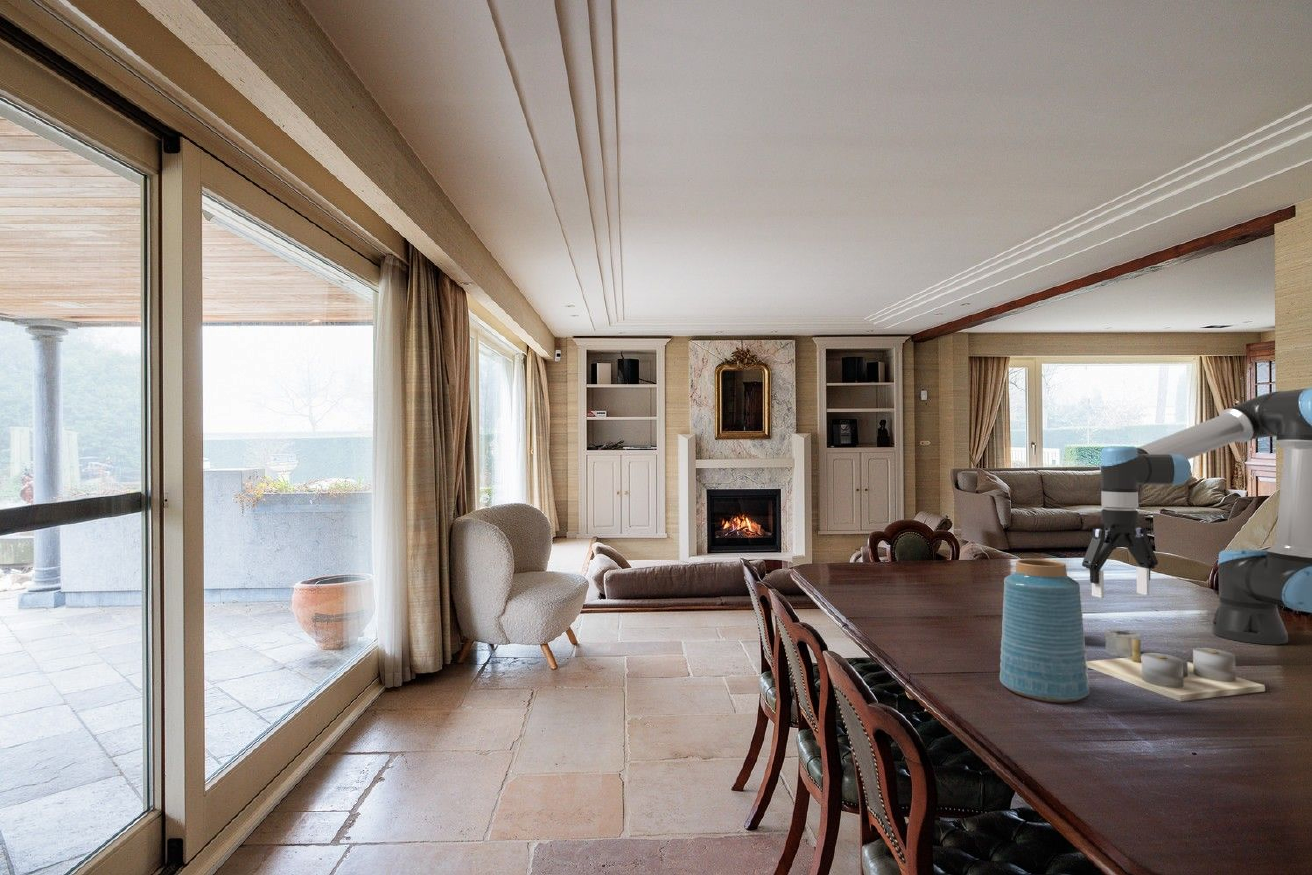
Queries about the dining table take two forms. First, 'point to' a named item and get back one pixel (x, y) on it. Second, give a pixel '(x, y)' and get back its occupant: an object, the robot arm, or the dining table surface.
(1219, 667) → the carrier
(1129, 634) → the octagonal tube
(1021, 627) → the vase
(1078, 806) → the dining table surface
